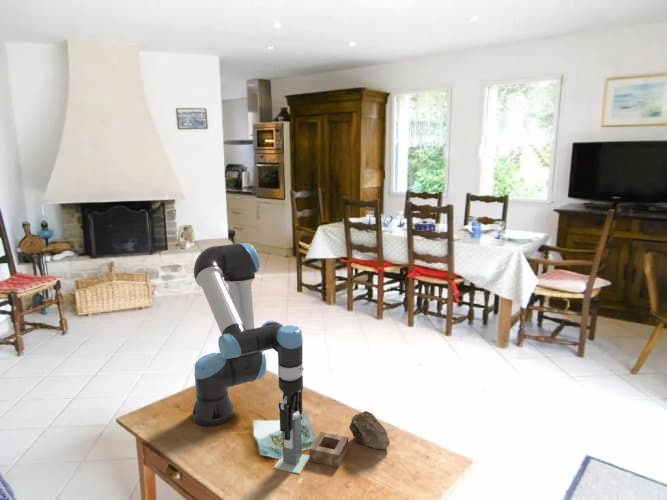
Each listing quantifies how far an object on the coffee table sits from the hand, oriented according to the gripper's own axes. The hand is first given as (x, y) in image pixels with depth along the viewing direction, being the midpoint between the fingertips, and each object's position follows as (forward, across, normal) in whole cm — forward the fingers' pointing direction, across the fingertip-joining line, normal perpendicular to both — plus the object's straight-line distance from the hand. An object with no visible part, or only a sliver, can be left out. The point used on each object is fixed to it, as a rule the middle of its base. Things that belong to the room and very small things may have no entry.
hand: (292, 442), depth 152 cm
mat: (+7, 0, 0) cm, 7 cm away
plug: (+6, 0, 0) cm, 6 cm away
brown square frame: (+7, +8, -10) cm, 14 cm away
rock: (+7, +18, -21) cm, 29 cm away
